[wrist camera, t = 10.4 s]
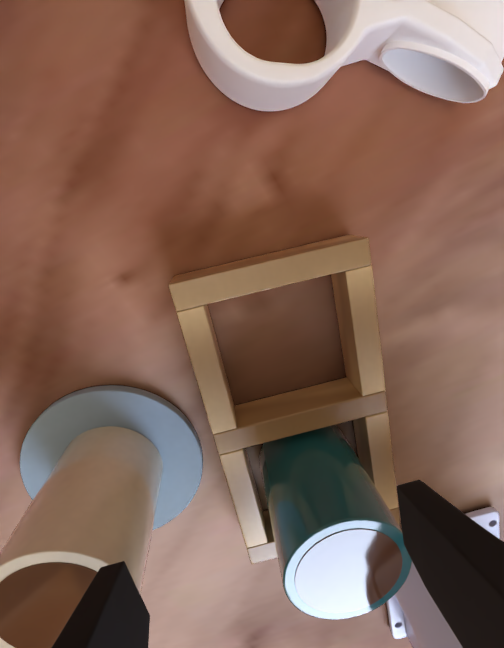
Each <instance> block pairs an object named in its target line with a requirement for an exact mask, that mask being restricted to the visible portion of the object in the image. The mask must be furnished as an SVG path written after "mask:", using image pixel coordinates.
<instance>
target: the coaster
mask: <svg viewBox="0 0 504 648" xmlns="http://www.w3.org/2000/svg"><path fill="white" fill-rule="evenodd" d="M105 426H117V427H123V428H127V429H131V430H133V431H136V432H138V433H140V434H142V435H143V436H145V437H146V438H147V439H149V440H150V441H151V442H152V443H153V444H154V446H155V447H156V448H157V450H158V451H159V453H160V456H161V458H162V462H163V476H162V482H161V487H160V493H159V498H158V503H157V509H156V514H155V520H154V525H153V530H154V529H156V528H159V527H161V526H163V525H164V524H166V523H168V522H169V521H171V520H172V519H174V518H175V517H176V516H178V515H179V514H180V513H181V512H182V511H183V510H184V509H185V508H186V506H187V505H188V504H189V503H190V501H191V500H192V498H193V497H194V495H195V493H196V491H197V489H198V486H199V484H200V480H201V476H202V466H203V456H202V448H201V444H200V440H199V438H198V435H197V433H196V431H195V429H194V427H193V426H192V424H191V423H190V421H189V420H188V419H187V418H186V416H185V415H184V414H183V413H182V412H181V411H180V410H179V409H178V408H176V407H175V406H174V405H172V404H171V403H170V402H168V401H167V400H165V399H163V398H161V397H160V396H158V395H155V394H153V393H151V392H148V391H145V390H142V389H138V388H134V387H128V386H118V385H106V386H96V387H90V388H85V389H82V390H79V391H76V392H73V393H71V394H69V395H66V396H64V397H62V398H61V399H59V400H57V401H56V402H54V403H53V404H52V405H50V406H49V407H48V408H47V409H46V410H45V411H44V412H43V413H42V414H41V415H40V416H39V417H38V418H37V420H36V421H35V422H34V423H33V424H32V426H31V428H30V429H29V431H28V432H27V434H26V437H25V439H24V441H23V444H22V448H21V453H20V472H21V476H22V480H23V483H24V486H25V488H26V490H27V492H28V494H29V495H30V497H31V499H32V500H33V499H34V497H35V496H36V494H37V493H38V491H39V489H40V488H41V486H42V485H43V483H44V481H45V480H46V478H47V477H48V475H49V473H50V472H51V470H52V469H53V467H54V465H55V464H56V462H57V461H58V459H59V457H60V456H61V454H62V453H63V451H64V449H65V448H66V446H67V445H68V444H69V443H70V442H71V441H72V440H73V439H74V438H75V437H77V436H78V435H80V434H81V433H83V432H86V431H88V430H91V429H94V428H98V427H105Z"/></svg>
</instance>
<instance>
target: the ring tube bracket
mask: <svg viewBox="0 0 504 648" xmlns="http://www.w3.org/2000/svg"><path fill="white" fill-rule="evenodd" d="M223 1H224V0H184V2H185V10H186V18H187V26H188V32H189V36H190V40H191V44H192V47H193V50H194V52H195V55H196V57H197V59H198V61H199V63H200V65H201V67H202V69H203V70H204V72H205V73H206V75H207V76H208V78H209V79H210V80H211V82H212V83H213V84H214V85H215V86H216V87H217V88H218V89H219V90H220V91H221V92H222V93H223V94H224V95H226V96H227V97H228V98H230V99H231V100H233V101H235V102H236V103H238V104H240V105H242V106H245V107H247V108H250V109H254V110H259V111H281V110H286V109H290V108H293V107H295V106H297V105H300V104H302V103H303V102H305V101H307V100H308V99H310V98H311V97H312V96H314V95H315V94H316V93H317V92H318V91H319V90H320V89H321V88H322V87H323V86H324V85H325V84H326V83H327V82H328V81H329V79H330V78H331V77H332V76H333V75H334V74H335V73H336V71H337V70H338V69H339V68H340V67H341V66H345V65H348V64H351V63H355V62H358V61H361V60H367V61H369V62H371V63H373V64H375V65H377V66H379V67H381V68H383V69H385V70H387V71H389V72H390V73H391V74H393V75H394V76H395V77H396V78H398V79H399V80H401V81H402V82H404V83H405V84H407V85H409V86H411V87H413V88H415V89H417V90H419V91H421V92H424V93H426V94H429V95H432V96H435V97H438V98H442V99H446V100H450V101H455V102H461V103H473V102H478V101H481V100H482V99H484V98H485V97H486V95H487V92H488V90H489V89H490V88H492V87H495V86H496V85H497V83H498V81H499V79H500V77H501V75H502V72H503V70H504V68H503V66H502V64H501V62H502V60H503V57H504V0H314V1H315V3H316V4H317V6H318V7H319V9H320V11H321V14H322V16H323V19H324V23H325V27H326V36H327V41H326V51H325V55H324V57H323V58H321V59H319V60H317V61H314V62H311V63H306V64H291V63H280V62H270V61H265V60H261V59H259V58H256V57H254V56H252V55H250V54H249V53H247V52H246V51H245V50H243V49H242V48H241V47H240V46H239V45H238V44H237V43H236V42H235V41H234V39H233V38H232V37H231V35H230V34H229V32H228V31H227V29H226V27H225V25H224V23H223V20H222V18H221V15H220V12H219V9H220V7H221V5H222V3H223Z"/></svg>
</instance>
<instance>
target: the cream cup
mask: <svg viewBox="0 0 504 648" xmlns="http://www.w3.org/2000/svg"><path fill="white" fill-rule="evenodd" d="M162 476H163V462H162V458H161V456H160V453H159V451H158V450H157V448H156V447H155V446H154V444H153V443H152V442H151V441H150V440H149V439H147V438H146V437H145V436H143V435H142V434H140V433H138V432H136V431H133V430H131V429H127V428H123V427H117V426H105V427H98V428H94V429H91V430H88V431H86V432H83V433H81V434H80V435H78V436H77V437H75V438H74V439H73V440H72V441H71V442H70V443H69V444H68V445H67V446H66V448H65V449H64V451H63V453H62V454H61V456H60V457H59V459H58V461H57V462H56V464H55V465H54V467H53V469H52V470H51V472H50V473H49V475H48V477H47V478H46V480H45V481H44V483H43V485H42V486H41V488H40V489H39V491H38V493H37V494H36V496H35V497H34V499H33V501H32V502H31V504H30V505H29V507H28V509H27V510H26V512H25V513H24V515H23V517H22V518H21V520H20V521H19V523H18V524H17V526H16V528H15V529H14V531H13V532H12V534H11V536H10V537H9V539H8V540H7V542H6V544H5V545H4V547H3V548H2V550H1V552H0V648H52V646H53V644H54V643H55V641H56V640H57V638H58V636H59V635H60V633H61V631H62V630H63V628H64V627H65V625H66V623H67V622H68V620H69V618H70V617H71V615H72V613H73V612H74V610H75V608H76V607H77V605H78V603H79V602H80V600H81V598H82V597H83V595H84V593H85V592H86V590H87V589H88V587H89V585H90V584H91V582H92V580H93V579H94V577H95V576H96V574H97V572H98V571H99V569H100V568H101V567H104V566H107V565H111V564H115V563H118V562H122V561H125V563H126V565H127V568H128V570H129V572H130V574H131V576H132V578H133V581H134V583H135V585H136V587H137V589H138V591H139V593H140V595H141V590H142V584H143V579H144V573H145V568H146V563H147V557H148V552H149V546H150V541H151V536H152V530H153V525H154V520H155V514H156V509H157V503H158V498H159V493H160V487H161V482H162Z"/></svg>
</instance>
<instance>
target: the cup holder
mask: <svg viewBox="0 0 504 648" xmlns="http://www.w3.org/2000/svg"><path fill="white" fill-rule="evenodd" d="M327 275H331V279H332V285H333V292H334V299H335V305H336V312H337V319H338V326H339V332H340V339H341V346H342V352H343V359H344V366H345V373H346V378H342V379H338V380H334V381H330V382H326V383H322V384H318V385H314V386H311V387H307V388H303V389H299V390H295V391H291V392H287V393H283V394H279V395H275V396H271V397H267V398H263V399H259V400H255V401H251V402H247V403H243V404H239V405H235V406H234V402H233V399H232V395H231V391H230V387H229V384H228V380H227V376H226V372H225V369H224V365H223V361H222V357H221V354H220V350H219V346H218V343H217V339H216V335H215V331H214V328H213V324H212V320H211V316H210V313H209V309H208V305H207V304H211V303H215V302H219V301H223V300H227V299H231V298H235V297H240V296H244V295H248V294H252V293H256V292H260V291H265V290H269V289H273V288H277V287H281V286H285V285H289V284H294V283H298V282H302V281H306V280H310V279H314V278H319V277H323V276H327ZM168 286H169V290H170V293H171V296H172V300H173V303H174V306H175V310H176V311H177V316H178V320H179V323H180V327H181V330H182V333H183V337H184V340H185V343H186V347H187V350H188V353H189V357H190V360H191V363H192V367H193V370H194V373H195V377H196V380H197V383H198V387H199V390H200V394H201V397H202V400H203V404H204V407H205V410H206V414H207V417H208V420H209V424H210V427H211V430H212V433H213V437H214V440H215V444H216V447H217V450H218V453H219V457H220V460H221V464H222V467H223V470H224V474H225V477H226V480H227V484H228V487H229V491H230V494H231V497H232V501H233V504H234V507H235V511H236V514H237V517H238V521H239V524H240V527H241V531H242V534H243V537H244V541H245V544H246V547H247V551H248V555H249V558H250V561H251V564H255V563H259V562H263V561H266V560H270V559H274V558H277V552H276V546H275V541H274V536H273V531H272V526H271V521H270V516H269V511H268V510H266V511H262V507H261V503H260V500H259V496H258V492H257V488H256V485H255V481H254V477H253V473H252V470H251V466H250V462H249V458H248V455H247V451H246V447H250V446H254V445H258V444H262V443H266V442H270V441H273V440H277V439H281V438H285V437H289V436H293V435H297V434H301V433H304V432H308V431H312V430H316V429H320V428H324V427H328V426H331V425H335V424H339V423H343V422H347V421H351V420H353V425H354V432H355V439H356V445H357V452H358V459H359V460H360V462H361V464H362V465H363V467H364V468H365V470H366V472H367V473H368V475H369V477H370V478H371V480H372V482H373V483H374V485H375V487H376V488H377V490H378V492H379V493H380V495H381V496H382V498H383V500H384V501H385V503H386V505H387V506H388V508H389V510H390V511H391V513H392V515H393V516H394V518H395V520H396V521H397V523H398V524H400V514H399V507H398V498H397V489H396V480H395V471H394V463H393V454H392V445H391V436H390V427H389V418H388V412H387V401H386V392H385V390H386V389H385V380H384V371H383V362H382V353H381V344H380V335H379V326H378V317H377V308H376V299H375V290H374V281H373V272H372V265H371V255H370V246H369V238H368V237H362V236H355V235H345V236H341V237H337V238H333V239H328V240H324V241H320V242H316V243H311V244H307V245H303V246H299V247H294V248H290V249H286V250H282V251H278V252H273V253H269V254H265V255H261V256H256V257H252V258H248V259H244V260H239V261H235V262H231V263H227V264H222V265H218V266H214V267H210V268H206V269H201V270H197V271H193V272H189V273H184V274H180V275H176V276H174V277H173V278H172V280H171V282H170V283H169V285H168Z"/></svg>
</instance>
